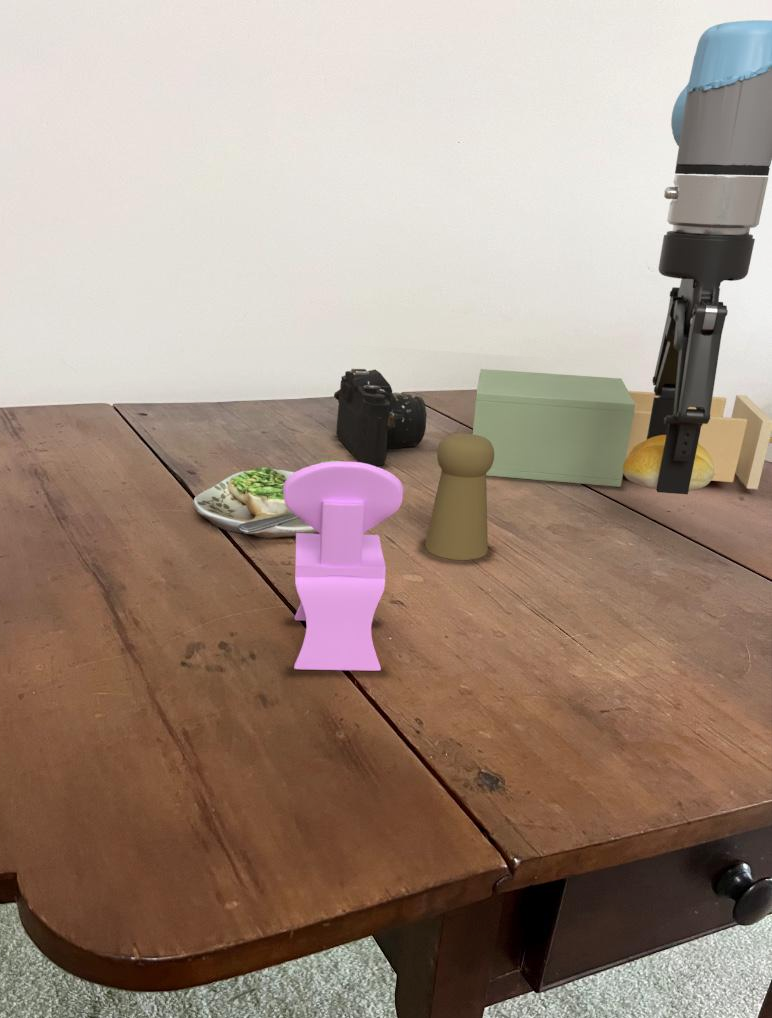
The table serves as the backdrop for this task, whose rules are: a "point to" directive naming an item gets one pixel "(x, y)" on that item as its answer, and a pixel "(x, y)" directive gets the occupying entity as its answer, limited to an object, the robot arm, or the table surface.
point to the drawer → (719, 436)
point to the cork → (461, 498)
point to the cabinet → (554, 426)
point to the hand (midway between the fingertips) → (664, 476)
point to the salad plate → (252, 504)
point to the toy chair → (340, 560)
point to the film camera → (376, 416)
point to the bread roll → (648, 460)
